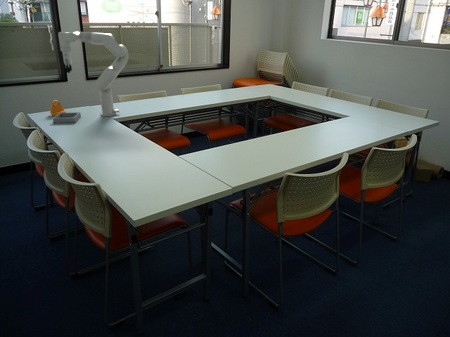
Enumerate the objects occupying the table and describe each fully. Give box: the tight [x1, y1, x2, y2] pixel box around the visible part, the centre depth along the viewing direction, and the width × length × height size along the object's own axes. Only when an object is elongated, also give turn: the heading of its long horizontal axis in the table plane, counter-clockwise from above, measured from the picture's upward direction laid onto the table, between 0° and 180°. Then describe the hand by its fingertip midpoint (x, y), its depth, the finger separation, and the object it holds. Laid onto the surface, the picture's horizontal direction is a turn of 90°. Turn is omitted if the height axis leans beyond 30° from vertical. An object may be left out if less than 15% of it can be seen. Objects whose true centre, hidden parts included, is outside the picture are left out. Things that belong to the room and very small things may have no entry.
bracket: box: [49, 99, 67, 117], centre depth 299 cm, size 11×7×12 cm, turn 129°
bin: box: [52, 111, 82, 124], centre depth 286 cm, size 16×16×4 cm
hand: (69, 71), depth 286 cm, fingers open, 9 cm apart
